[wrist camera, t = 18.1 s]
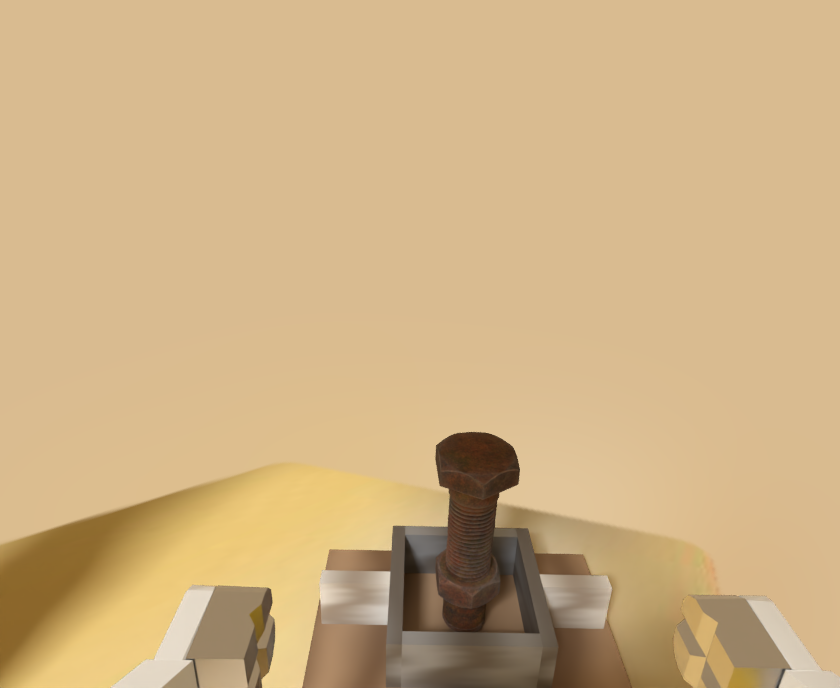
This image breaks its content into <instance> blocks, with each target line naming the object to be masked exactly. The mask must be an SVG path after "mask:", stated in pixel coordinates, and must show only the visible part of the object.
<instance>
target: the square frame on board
mask: <svg viewBox="0 0 840 688" xmlns="http://www.w3.org/2000/svg"><path fill="white" fill-rule="evenodd" d="M447 532H448V527H424V526H393V535H392V551H377V550H329V555H328V560H327V565H326V570H322V573H321V578H320V600H319V606H318V611H317V616H316V621H315V626H314V631H313V636H312V641H311V646H310V651H309V656H308V661H307V666H306V672H305V677H304V682H303V687H302V688H632V687H631V684H630V681H629V678H628V676H627V673H626V670H625V668H624V665H623V662H622V659H621V657H620V654H619V651H618V649H617V646H616V643H615V640H614V638H613V635H612V632H611V629H610V627H609V624H608V621H607V619H606V615H607V611H608V606H609V601H610V597H611V592H612V587H611V584H610V582H609V579H608V577H607V576H598V575H590V572H589V569H588V567H587V564H586V561H585V559H584V556H583V555H580V554H534V551H533V547H532V543H531V539H530V535H529V531H528V529H522V528H494V536H493V546H492V553H491V554H492V555H494V557H495V559H496V562H497V565H498V570H499V575H500V590H499V594H498V595H497V596H495V597H494V598H493V599H492V600H491V601H489V602H488V603H486V611H485V621H484V624H481V626H482V627H481V628H480V629H479V630H478V631H476V632H456V631H454V630H452V629H451V628H449V627H448V626H447V625H446V623H445V621H444V619H443V616H442V610H443V598H442V597H440V596H439V595H438V590H437V583H436V571H435V565H436V557H437V556H438V555H439V554H440V553H441V552H442V551H444V550H445V549H446V548H447V535H448V533H447Z"/></svg>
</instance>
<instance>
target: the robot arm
mask: <svg viewBox="0 0 840 688" xmlns="http://www.w3.org/2000/svg"><path fill="white" fill-rule="evenodd" d="M271 606H272V594H271V589H269V588H260V587H238V586H205V585H192V586H191V587H190V588H189V589H188V590H187V591H186V593H185V595H184V597H183V599H182V601H181V603H180V605H179V608H178V610H177V612H176V614H175V616H174V618H173V620H172V622H171V624H170V626H169V628H168V630H167V633H166V635H165V637H164V639H163V641H162V643H161V645H160V647H159V649H158V651H157V653H156V656H155V658H154V659H146V660H144V661H143V662H142V663H141V664H139V665H138V666H137V667H135V668H134V669H133V670H132V671H130V672H129V673H128V674H127V675H125V676H124V677H123V678H122V679H120V680H119V681H118V682H117V683H115V684H114V685H113V686H112V687H110V688H262V682H261V679H262V678H263V677H264V676H265V675H266V674H267V673H268V672H269V669H270V665H271V661H272V657H273V650H274V643H275V622H274V618H273V617H272V616H271V615H270V614H269V613H270V609H271ZM681 611H682V613H683V615H684V617H685V619H684V620H683V621H682V622H680V623H679V624H678V625H677V626H676V628H675V633H674V637H673V645H674V655H675V659H676V663H677V666H678V668H679V671H680V673H681V675H682V677H683V679H684V680H685V681H686V682H687V683H689V684H690V685H691V686H692V687H693V688H840V677H839V676H837V675H836V674H834V673H833V672H831V671H823V670H822V669H821V668H820V667H819V665H818V664H817V662H816V661H815V660H814V658H813V657H812V655H811V654H810V653H809V651H808V650H807V648H806V647H805V646H804V644H803V643H802V641H801V640H800V639H799V637H798V636H797V634H796V633H795V632H794V631H793V629H792V628H791V626H790V625H789V623H788V622H787V621H786V619H785V618H784V616H783V615H782V614H781V612H780V611H779V610H778V608H777V607H776V605H775V604H774V603H773V601H772V600H771V599H769V598H768V597H766V596H736V595H688V596H687V597H686V598H685V599H684V600H683V603H682V606H681Z"/></svg>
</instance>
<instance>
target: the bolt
mask: <svg viewBox="0 0 840 688" xmlns="http://www.w3.org/2000/svg"><path fill="white" fill-rule="evenodd" d="M436 465H437V471H438V478H439V484H440V486H443V487H445V488H448V489H449V494H450V499H449V500H450V501H449V515H448V532H447V533H448V535H447V548H446V549H445V550H444V551H442V552H441V553H440V554H439V555H438V556H437V557H436V565H435V571H436V583H437V590H438V595H439V596H440V597H442V598H443V610H442V616H443V619H444V621H445V623H446V625H447V626H448V627H449V628H451V629H452V630H454V631H456V632H476V631H478V630H479V629H480V628H481V627H482V626H481V624H484V621H485V611H486V603H488V602H489V601H491V600H492V599H493V598H494V597H495V596H497V595H498V594H499V590H500V575H499V570H498V565H497V562H496V559H495V557H494V555H492V554H491V553H492V546H493V536H494V528H495V517H496V507H497V500H498V498H499V493H500V492H502V491H504V490H506V489H509V488H511V487H513V486H516V485H518V482H519V472H520V468H519V463H518V459H517V455H516V453H515V450H514V448H513V447H512V446H511V445H510V444H508V443H507V442H506V441H504V440H503V439H501V438H499V437H497V436H495V435H492V434H489V433H481V432H480V433H479V432H466V433H457V434H453V435H451V436H449V437H447V438H446V439H444V440H443V441H442V442H440V443H439V444H437V445H436Z"/></svg>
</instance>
